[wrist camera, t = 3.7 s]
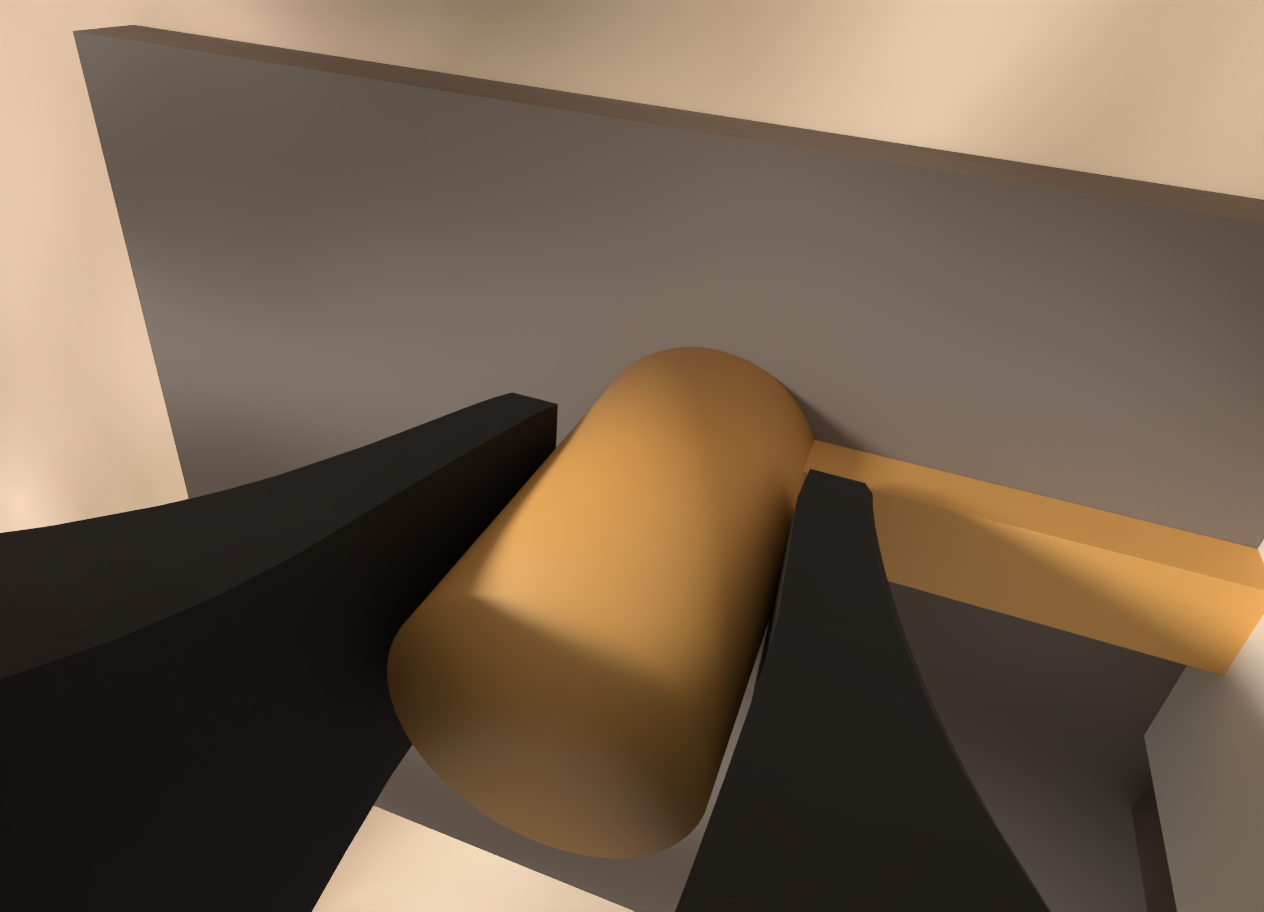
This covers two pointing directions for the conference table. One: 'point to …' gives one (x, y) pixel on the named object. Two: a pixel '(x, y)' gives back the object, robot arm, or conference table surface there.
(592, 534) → the orange mallet
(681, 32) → the conference table surface
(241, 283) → the lane rack
